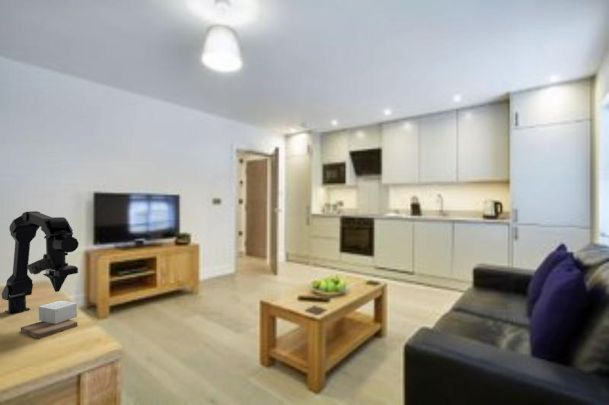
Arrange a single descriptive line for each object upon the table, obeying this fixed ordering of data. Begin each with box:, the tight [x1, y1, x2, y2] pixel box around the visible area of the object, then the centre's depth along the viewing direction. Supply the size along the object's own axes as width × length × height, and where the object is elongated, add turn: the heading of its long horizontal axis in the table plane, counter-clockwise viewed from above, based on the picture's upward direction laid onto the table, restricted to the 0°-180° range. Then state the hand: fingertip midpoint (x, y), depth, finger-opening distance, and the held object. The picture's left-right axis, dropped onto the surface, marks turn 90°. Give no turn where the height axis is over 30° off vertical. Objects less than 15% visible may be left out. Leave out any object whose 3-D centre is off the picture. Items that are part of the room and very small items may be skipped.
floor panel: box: [20, 319, 78, 340], centre depth 119 cm, size 14×12×2 cm
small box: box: [38, 300, 78, 324], centre depth 125 cm, size 8×6×10 cm
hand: (57, 291), depth 123 cm, fingers closed
